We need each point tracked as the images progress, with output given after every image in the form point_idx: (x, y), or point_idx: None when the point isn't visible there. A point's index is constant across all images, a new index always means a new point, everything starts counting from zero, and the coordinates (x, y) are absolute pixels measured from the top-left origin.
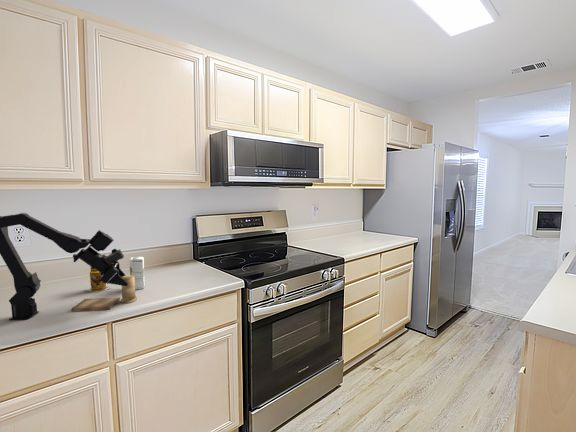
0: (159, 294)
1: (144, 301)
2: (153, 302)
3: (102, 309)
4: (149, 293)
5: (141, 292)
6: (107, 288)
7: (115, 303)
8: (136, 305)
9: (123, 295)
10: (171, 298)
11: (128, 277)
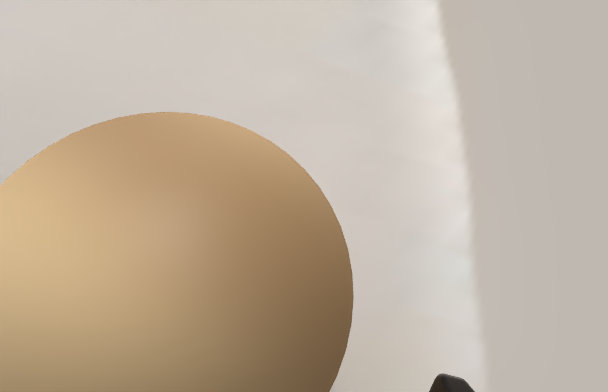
0: (252, 45)
1: (362, 213)
2: (445, 158)
3: None
4: (144, 99)
5: (35, 147)
6: None
7: None
8: (435, 315)
9: None
10: (433, 16)
11: (279, 293)
